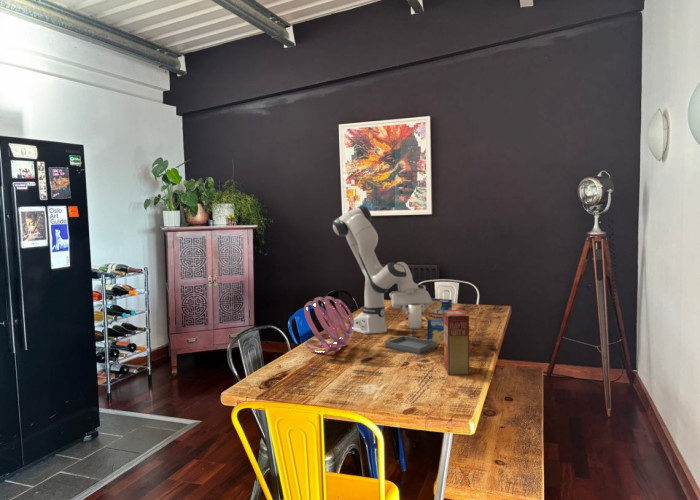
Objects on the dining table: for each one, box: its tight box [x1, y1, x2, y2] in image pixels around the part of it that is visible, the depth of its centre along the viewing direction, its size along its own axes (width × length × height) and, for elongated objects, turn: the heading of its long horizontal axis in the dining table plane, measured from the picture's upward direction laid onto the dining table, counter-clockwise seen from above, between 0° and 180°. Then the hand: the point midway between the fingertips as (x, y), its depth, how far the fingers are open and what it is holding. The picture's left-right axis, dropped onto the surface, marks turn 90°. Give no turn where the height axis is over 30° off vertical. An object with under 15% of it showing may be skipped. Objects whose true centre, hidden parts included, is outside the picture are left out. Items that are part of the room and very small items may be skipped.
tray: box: [384, 335, 438, 355], centre depth 257 cm, size 20×16×3 cm
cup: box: [407, 303, 423, 329], centre depth 251 cm, size 6×6×11 cm
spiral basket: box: [303, 295, 354, 355], centre depth 253 cm, size 28×28×27 cm
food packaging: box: [443, 309, 470, 376], centre depth 219 cm, size 13×9×25 cm
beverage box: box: [426, 297, 453, 345], centre depth 266 cm, size 7×11×22 cm, turn 62°
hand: (415, 313), depth 251 cm, fingers closed on cup, 6 cm apart
